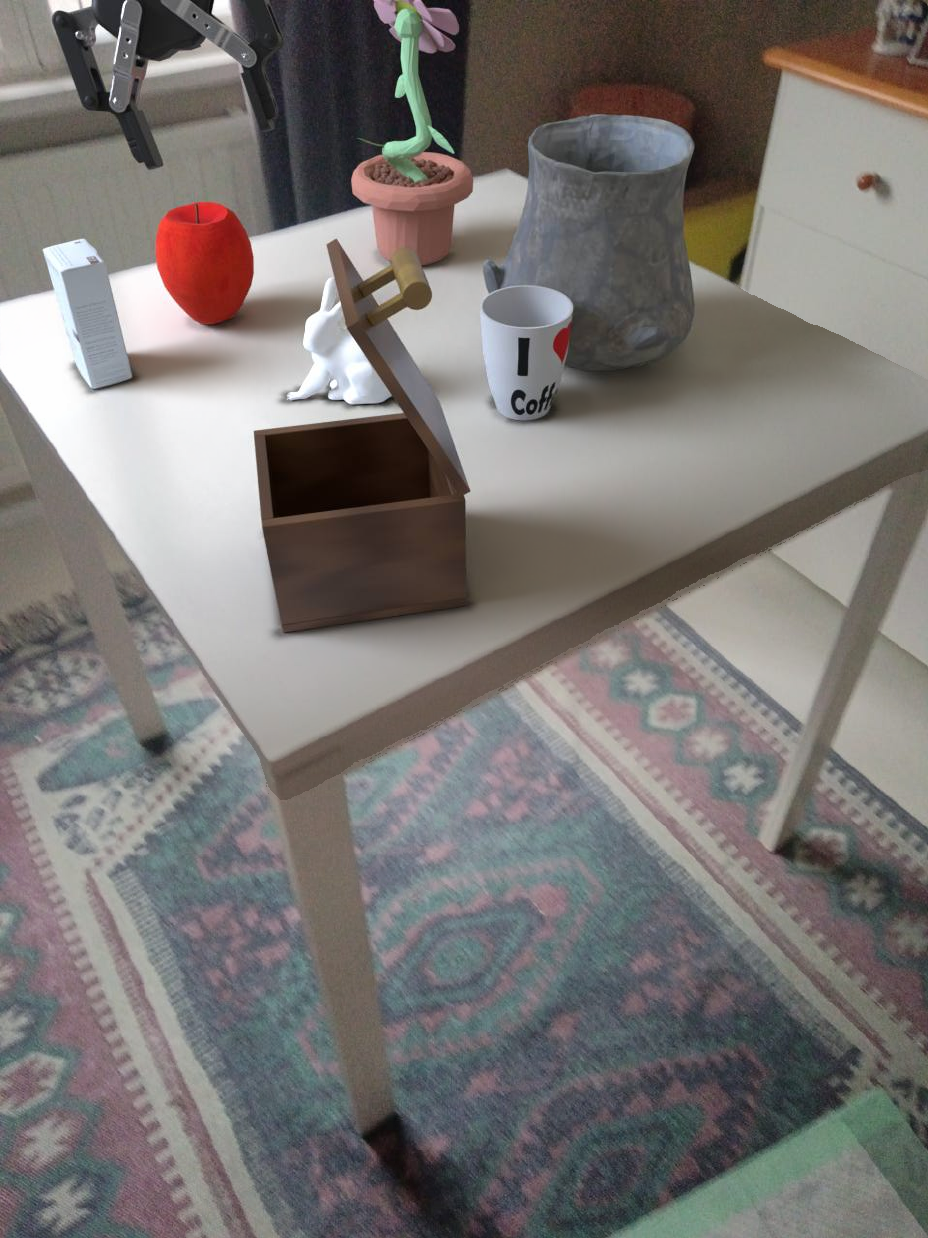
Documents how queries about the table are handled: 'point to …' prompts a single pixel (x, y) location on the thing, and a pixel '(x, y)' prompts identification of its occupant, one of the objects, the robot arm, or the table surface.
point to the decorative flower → (414, 149)
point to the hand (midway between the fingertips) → (212, 149)
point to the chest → (358, 522)
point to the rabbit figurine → (337, 358)
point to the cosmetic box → (88, 312)
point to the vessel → (607, 236)
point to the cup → (525, 347)
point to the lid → (397, 347)
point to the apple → (205, 260)
